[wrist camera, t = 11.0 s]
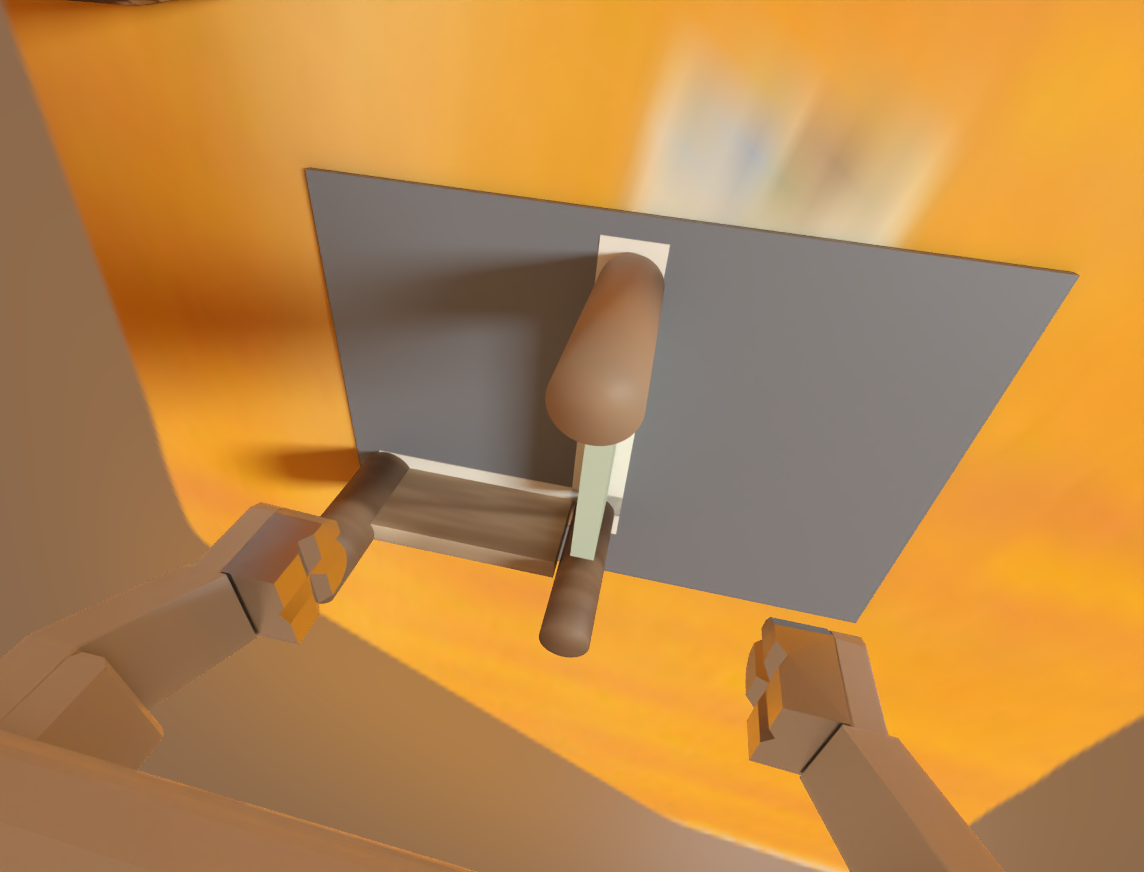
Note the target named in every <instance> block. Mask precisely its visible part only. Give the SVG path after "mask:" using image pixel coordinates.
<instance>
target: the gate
mask: <svg viewBox="0 0 1144 872" xmlns="http://www.w3.org/2000/svg"><path fill="white" fill-rule="evenodd" d="M664 290H665V283H664V278H663V275H662V273H661V271H660V269H659V268H658V266H657V265H656V264H655V263H654V262H653V261H651V260H650V259H649V258H647V257H645V256H642V255H639V254H632V253H631V254H622V255H619V256H617V257H615V258H613V259H611V260H610V261H609V262H608V263H606V265H605V266H604V267H603V268H602V270H601V272H600V274H599V276H598V278H597V280H596V283H595V285H594V287H593V289H592V291H591V293H590V295H589V298H588V300H587V302H586V304H585V306H584V308H583V310H582V313H581V315H580V317H579V319H578V321H577V323H576V326H575V328H574V330H573V332H572V334H571V336H570V338H569V341H568V343H567V345H566V347H565V349H564V351H563V354H562V356H561V358H560V360H559V362H558V364H557V366H556V369H555V371H554V373H553V375H552V377H551V379H550V382H549V384H548V386H547V389H546V395H545V402H546V408H547V411H548V414H549V416H550V418H551V420H552V421H553V423H554V424H555V426H556V427H557V428H558V429H559V430H560V431H561V432H562V433H564V434H565V435H566V436H568V437H569V438H571V439H573V440H575V441H577V442H580V443H583V444H585V449H584V456H583V464H582V471H581V479H580V486H579V493H578V501H577V508H576V516H575V523H574V531H573V538H572V546H571V553H570V556H574V557H579V558H584V559H588V560H593V561H594V556H595V551H596V547H597V542H598V537H599V533H600V528H601V523H602V519H603V514H604V509H605V505H606V500H607V495H608V490H609V484H610V478H611V473H612V467H613V462H614V456H615V450H616V445H617V443H620V442H622V441H624V440H626V439H628V438H629V437H630V436H632V435H633V434H634V433H635V432H636V431H637V430H638V428H639V427H640V425H641V423H642V421H643V419H644V415H645V410H646V404H647V398H648V391H649V385H650V379H651V372H652V366H653V360H654V354H655V347H656V341H657V335H658V328H659V322H660V316H661V310H662V303H663V297H664Z"/></svg>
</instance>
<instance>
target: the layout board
mask: <svg viewBox="0 0 1144 872" xmlns="http://www.w3.org/2000/svg"><path fill="white" fill-rule="evenodd" d="M305 173H306V178H307V184H308V189H309V194H310V200H311V205H312V210H313V216H314V221H315V226H316V232H317V237H318V242H319V248H320V253H321V258H322V264H323V269H324V274H325V280H326V285H327V290H328V296H329V301H330V306H331V312H332V317H333V322H334V328H335V333H336V338H337V344H338V349H339V354H340V360H341V365H342V370H343V376H344V381H345V386H346V392H347V397H348V402H349V408H350V413H351V418H352V424H353V429H354V434H355V440H356V445H357V450H358V456H359V461H360V466H362V465H363V464H364V463H365V462H366V460H367V459H368V458H369V457H370V456H371V455H372V454H373V453H375V452H387V453H391V454H394V455H396V456H398V457H399V458H401V459H402V460H403V461H404V462H405V463H406V464H407V465H408V466H409V468H412V469H417V470H422V471H427V472H433V473H438V474H443V475H448V476H453V477H458V478H463V479H468V480H473V481H478V482H483V483H488V484H494V485H499V486H504V487H509V488H514V489H519V490H524V491H529V492H534V493H539V494H544V495H549V496H555V497H560V498H565V499H570V500H572V508H571V515H570V519H569V522H568V526H567V529H566V533H565V536H564V540H563V544H562V547H561V551H560V554H559V558H558V561H560V559H561V555H562V551H563V548H564V544H565V541H566V537H567V534H568V530H569V527H570V523H571V519H572V516H573V512H574V509H575V505H576V503H577V501H578V493H579V486H580V479H581V471H582V464H583V456H584V449H585V444H583V443H580V442H577V441H575V440H573V439H571V438H569V437H568V436H566V435H565V434H564V433H562V432H561V431H560V430H559V429H558V428H557V427H556V426H555V424H554V423H553V421H552V420H551V418H550V416H549V414H548V411H547V408H546V402H545V395H546V389H547V386H548V384H549V382H550V379H551V377H552V375H553V373H554V371H555V369H556V366H557V364H558V362H559V360H560V358H561V356H562V354H563V351H564V349H565V347H566V345H567V343H568V341H569V338H570V336H571V334H572V332H573V330H574V328H575V326H576V323H577V321H578V319H579V317H580V315H581V313H582V310H583V308H584V306H585V304H586V302H587V300H588V298H589V295H590V293H591V291H592V289H593V287H594V285H595V283H596V280H597V278H598V276H599V274H600V272H601V270H602V268H603V267H604V266H605V265H606V263H608V262H609V261H610V260H611V259H613V258H615V257H617V256H619V255H622V254H631V253H632V254H639V255H642V256H645V257H647V258H649V259H650V260H651V261H653V262H654V263H655V264H656V265H657V266H658V268H659V269H660V271H661V273H662V275H663V278H664V283H665V290H664V297H663V303H662V310H661V316H660V322H659V328H658V335H657V341H656V347H655V354H654V360H653V366H652V372H651V379H650V385H649V391H648V398H647V404H646V410H645V415H644V419H643V421H642V423H641V425H640V427H639V428H638V430H637V431H636V432H635V433H634V434H633V435H632V436H630V437H629V438H628V439H626V440H624V441H622V442H620V443H617V445H616V450H615V456H614V462H613V467H612V473H611V478H610V484H609V490H608V495H607V500H606V501H607V502H608V503H609V504H610V505H611V506H612V507H613V509H614V520H613V525H612V530H611V536H610V541H609V546H608V551H607V557H606V562H605V567H604V570H605V571H609V572H614V573H619V574H624V575H628V576H633V577H638V578H643V579H648V580H652V581H657V582H662V583H667V584H671V585H676V586H681V587H686V588H690V589H695V590H700V591H705V592H710V593H714V594H719V595H724V596H729V597H733V598H738V599H743V600H748V601H752V602H757V603H762V604H767V605H772V606H776V607H781V608H786V609H791V610H795V611H800V612H805V613H810V614H815V615H819V616H824V617H829V618H834V619H838V620H843V621H848V622H853V623H856V622H857V620H858V619H859V617H860V616H861V614H862V612H863V611H864V609H865V608H866V606H867V605H868V603H869V602H870V600H871V598H872V597H873V595H874V594H875V592H876V591H877V589H878V588H879V586H880V585H881V583H882V581H883V580H884V578H885V577H886V575H887V574H888V572H889V571H890V569H891V567H892V566H893V564H894V563H895V561H896V560H897V558H898V557H899V555H900V553H901V552H902V550H903V549H904V547H905V546H906V544H907V543H908V541H909V540H910V538H911V536H912V535H913V533H914V532H915V530H916V529H917V527H918V526H919V524H920V522H921V521H922V519H923V518H924V516H925V515H926V513H927V512H928V510H929V509H930V507H931V505H932V504H933V502H934V501H935V499H936V498H937V496H938V495H939V493H940V491H941V490H942V488H943V487H944V485H945V484H946V482H947V481H948V479H949V478H950V476H951V474H952V473H953V471H954V470H955V468H956V467H957V465H958V464H959V462H960V460H961V459H962V457H963V456H964V454H965V453H966V451H967V450H968V448H969V447H970V445H971V443H972V442H973V440H974V439H975V437H976V436H977V434H978V433H979V431H980V429H981V428H982V426H983V425H984V423H985V422H986V420H987V419H988V417H989V416H990V414H991V412H992V411H993V409H994V408H995V406H996V405H997V403H998V402H999V400H1000V398H1001V397H1002V395H1003V394H1004V392H1005V391H1006V389H1007V388H1008V386H1009V384H1010V383H1011V381H1012V380H1013V378H1014V377H1015V375H1016V374H1017V372H1018V371H1019V369H1020V367H1021V366H1022V364H1023V363H1024V361H1025V360H1026V358H1027V357H1028V355H1029V353H1030V352H1031V350H1032V349H1033V347H1034V346H1035V344H1036V343H1037V341H1038V340H1039V338H1040V336H1041V335H1042V333H1043V332H1044V330H1045V329H1046V327H1047V326H1048V324H1049V322H1050V321H1051V319H1052V318H1053V316H1054V315H1055V313H1056V312H1057V310H1058V309H1059V307H1060V305H1061V304H1062V302H1063V301H1064V299H1065V298H1066V296H1067V295H1068V293H1069V291H1070V290H1071V288H1072V287H1073V285H1074V284H1075V282H1076V281H1077V279H1078V278H1079V276H1080V275H1078V274H1076V273H1074V272H1069V271H1061V270H1054V269H1047V268H1039V267H1032V266H1025V265H1018V264H1010V263H1003V262H996V261H988V260H981V259H974V258H966V257H959V256H952V255H944V254H937V253H930V252H923V251H915V250H908V249H901V248H893V247H886V246H879V245H871V244H864V243H857V242H849V241H842V240H835V239H828V238H820V237H813V236H806V235H798V234H791V233H784V232H776V231H769V230H762V229H754V228H747V227H740V226H733V225H725V224H718V223H711V222H703V221H696V220H689V219H681V218H674V217H667V216H659V215H652V214H645V213H637V212H630V211H623V210H616V209H608V208H601V207H594V206H586V205H579V204H572V203H564V202H557V201H550V200H542V199H535V198H528V197H521V196H513V195H506V194H499V193H491V192H484V191H477V190H469V189H462V188H455V187H447V186H440V185H433V184H426V183H418V182H411V181H404V180H396V179H389V178H382V177H374V176H367V175H360V174H352V173H345V172H338V171H331V170H323V169H316V168H307V169H305Z"/></svg>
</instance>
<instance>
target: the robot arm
mask: <svg viewBox="0 0 1144 872" xmlns="http://www.w3.org/2000/svg"><path fill="white" fill-rule="evenodd" d="M340 533H341V532H340V529H339V526H338V523H337V521H335V520H331V519H327V518H323V517H319V516H315V515H311V514H307V513H303V512H299V511H295V510H291V509H287V508H283V507H279V506H275V505H270V504H266V503H262V502H261V503H258V504H256V505H254V506H252V507H250V508H249V509H248V510H247V511H246V512H245V513H244V514H243V515H242V516H241V517H240V518H239V520H238V521H237V522H236V523H235V524H234V525H233V526H232V527H231V528H230V529H229V530H228V531H227V532H226V533H225V534H224V535H223V536H222V537H221V538H220V539H219V540H218V541H217V542H216V543H215V544H214V545H213V546H212V547H211V548H210V549H209V550H208V551H207V552H206V553H205V554H204V555H203V556H202V557H201V558H200V559H199V560H198V561H197V562H196V563H195V564H194V565H193V566H192V565H186V564H185V565H183V566H181V567H178V568H176V569H174V570H172V571H170V572H167V573H165V574H163V575H160V576H158V577H156V578H154V579H151V580H149V581H147V582H145V583H142V584H140V585H138V586H136V587H134V588H131V589H129V590H127V591H124V592H122V593H120V594H118V595H116V596H113V597H111V598H109V599H107V600H104V601H102V602H100V603H98V604H95V605H93V606H91V607H89V608H86V609H84V610H82V611H80V612H77V613H75V614H73V615H71V616H69V617H66V618H64V619H62V620H59V621H58V622H55V623H53V624H51V625H48V626H46V627H44V628H42V629H39V630H37V631H35V632H33V633H30V634H28V635H27V636H26V637H25V638H24V639H23V640H22V641H21V642H19V643H18V644H17V645H16V646H15V647H14V648H12V649H11V650H10V651H9V652H8V653H7V654H6V655H5V656H3V657H2V658H1V659H0V872H476V871H473V870H470V869H466V868H463V867H460V866H456V865H453V864H450V863H447V862H443V861H440V860H436V859H433V858H430V857H426V856H423V855H419V854H416V853H413V852H409V851H406V850H403V849H400V848H396V847H393V846H390V845H386V844H383V843H379V842H376V841H373V840H369V839H366V838H363V837H359V836H356V835H353V834H349V833H346V832H343V831H339V830H336V829H332V828H329V827H325V826H322V825H319V824H316V823H312V822H309V821H305V820H302V819H299V818H296V817H292V816H289V815H286V814H282V813H279V812H276V811H272V810H269V809H265V808H262V807H259V806H255V805H252V804H249V803H245V802H242V801H238V800H235V799H232V798H229V797H225V796H222V795H219V794H215V793H212V792H208V791H205V790H202V789H198V788H195V787H192V786H188V785H185V784H181V783H178V782H175V781H172V780H168V779H165V778H162V777H158V776H155V775H151V774H148V773H145V772H141V771H138V769H139V768H140V766H141V765H142V764H143V763H144V761H145V760H146V759H147V757H148V756H149V755H150V753H151V752H152V751H153V749H154V748H155V747H156V746H157V744H158V743H159V742H160V740H161V739H162V738H163V728H162V727H161V726H160V724H159V723H158V722H157V721H156V720H155V718H154V717H153V716H152V715H151V714H150V712H149V710H150V709H152V708H153V707H155V706H156V705H158V704H159V703H161V702H162V701H164V700H165V699H167V698H168V697H170V696H171V695H173V694H174V693H176V692H177V691H179V690H180V689H182V688H183V687H185V686H186V685H188V684H189V683H191V682H192V681H193V680H195V679H197V678H198V677H199V676H201V675H202V674H204V673H205V672H207V671H208V670H210V669H211V668H213V667H214V666H216V665H217V664H219V663H220V662H222V661H223V660H225V659H226V658H228V657H229V656H231V655H232V654H234V653H235V652H237V651H238V650H240V649H241V648H243V647H244V646H245V645H247V644H248V643H250V642H251V641H253V640H254V639H256V638H257V636H256V635H258V636H263V637H267V638H272V639H276V640H281V641H285V642H289V643H294V644H299V643H300V642H301V641H302V639H303V638H304V636H305V635H306V633H307V632H308V631H309V629H310V628H311V626H312V625H313V623H314V622H315V620H316V619H317V617H318V616H319V615H320V614H319V602H321V601H323V600H325V599H327V598H328V597H330V596H332V595H333V594H334V592H335V591H336V589H337V588H338V586H339V585H340V583H341V581H342V578H343V576H344V573H345V570H346V564H347V555H346V551H345V548H344V547H343V546H342V545H341V544H340V543H339V542H338V541H337V540H336V538H337V537H338V536H339V534H340ZM746 696H747V698H748V699H749V701H750V702H751V704H752V705H753V707H754V709H753V711H752V713H751V714H750V716H749V718H748V720H747V729H748V748H749V760H750V761H754V762H757V763H761V764H764V765H768V766H771V767H775V768H778V769H782V770H785V771H789V772H792V773H796V774H799V775H801V776H800V779H801V781H802V783H803V785H804V787H805V788H806V790H807V792H808V794H809V796H810V798H811V800H812V801H813V803H814V805H815V807H816V809H817V811H818V813H819V814H820V816H821V818H822V820H823V822H824V824H825V826H826V827H827V829H828V831H829V833H830V835H831V837H832V839H833V840H834V842H835V844H836V846H837V848H838V850H839V852H840V853H841V855H842V857H843V859H844V861H845V863H846V865H847V866H848V868H849V870H850V872H1005V871H1004V870H1003V869H1002V867H1001V866H1000V865H999V864H998V862H997V861H996V860H995V859H994V857H993V856H992V855H991V854H990V853H989V851H988V850H987V849H986V847H985V846H984V845H983V844H982V842H981V841H980V840H979V839H978V838H977V836H976V835H975V834H974V832H973V831H972V830H971V829H970V827H969V826H968V825H967V824H966V822H965V821H964V820H963V819H962V817H961V816H960V815H959V814H958V812H957V811H956V810H955V809H954V807H953V806H952V805H951V804H950V802H949V801H948V800H947V799H946V797H945V796H944V795H943V794H942V792H941V791H940V790H939V789H938V787H937V786H936V785H935V784H934V782H933V781H932V780H931V779H930V777H929V776H928V775H927V774H926V772H925V771H924V770H923V769H922V767H921V766H920V765H919V764H918V762H917V761H916V760H915V759H914V757H913V756H912V755H911V754H910V752H909V751H908V750H907V749H906V747H905V746H904V745H903V744H902V742H901V741H900V740H899V739H898V738H896V737H892V736H889V735H888V732H887V728H886V724H885V720H884V716H883V712H882V708H881V704H880V700H879V696H878V692H877V688H876V684H875V680H874V676H873V672H872V668H871V664H870V660H869V656H868V652H867V648H866V644H865V643H864V641H863V640H862V638H860V637H857V636H853V635H848V634H844V633H839V632H834V631H828V630H827V629H824V628H820V627H815V626H810V625H805V624H801V623H796V622H791V621H786V620H781V619H777V618H772V617H770V618H768V619H767V620H766V621H765V623H764V625H763V627H762V640H760V641H758V642H755V643H754V645H753V647H752V649H751V651H750V654H749V658H748V663H747V668H746Z"/></svg>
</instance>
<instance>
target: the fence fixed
mask: <svg viewBox="0 0 1144 872" xmlns="http://www.w3.org/2000/svg"><path fill="white" fill-rule="evenodd" d="M571 508H572V500H570V499H565V498H560V497H555V496H549V495H544V494H539V493H534V492H529V491H524V490H519V489H514V488H509V487H504V486H499V485H494V484H488V483H483V482H478V481H473V480H468V479H463V478H458V477H453V476H448V475H443V474H438V473H433V472H427V471H422V470H417V469H412V468H409V466H408V465H407V464H406V463H405V462H404V461H403V460H402V459H401V458H399V457H398V456H396V455H394V454H391V453H387V452H375V453H373V454H372V455H371V456H370V457H369V458H368V459H367V460H366V462H365V463H364V464H363V465H362V466H361V468H360V469H359V470H358V471H357V473H356V474H355V475H354V476H353V477H352V479H351V480H350V481H349V482H348V483H347V485H346V486H345V487H344V488H343V490H342V491H341V492H340V493H339V494H338V496H337V497H336V498H335V499H334V501H333V502H332V503H331V504H330V505H329V507H328V508H327V509H326V510H325V511H324V513H323V514H322V515H321V516H320V517H323V518H327V519H331V520H335V521H337V523H338V526H339V529H340V532H341V533H340V534H339V536H338V537H337V538H336V540H337V541H338V542H339V543H340V544H341V545H342V546H343V547H344V548H345V551H346V555H347V564H346V570H345V573H344V576H343V578H342V581H341V583H340V585H339V586H338V588H337V589H336V591H335V592H334V594H333V595H332V596H330V597H328V598H327V599H325V600H323V601H321V602H319V604H323V603H328V602H330V601H331V600H332V599H333V598H334V597H335V595H336V594H337V592H338V591H339V589H340V588H341V586H342V585H343V583H344V582H345V581H346V579H347V578H348V576H349V575H350V573H351V572H352V570H353V569H354V567H355V566H356V564H357V563H358V561H359V560H360V558H361V557H362V555H363V554H364V552H365V551H366V549H367V548H368V546H369V545H370V544H371V542H372V541H373V539H375V540H379V541H384V542H389V543H393V544H398V545H403V546H407V547H412V548H417V549H421V550H426V551H431V552H436V553H440V554H445V555H450V556H454V557H459V558H464V559H468V560H473V561H478V562H482V563H487V564H492V565H497V566H501V567H506V568H511V569H515V570H520V571H525V572H529V573H534V574H539V575H543V576H548V577H553V575H554V572H555V568H556V565H557V561H558V558H559V554H560V551H561V547H562V544H563V540H564V536H565V533H566V529H567V526H568V522H569V519H570V515H571ZM576 508H577V503H576V505H575V509H574V512H573V516H572V519H571V523H570V527H569V530H568V534H567V537H566V541H565V544H564V548H563V551H562V555H561V559H560V562H559V566H558V569H557V573H556V576H555V580H554V584H553V587H552V591H551V594H550V598H549V601H548V605H547V609H546V612H545V616H544V619H543V623H542V626H541V630H540V634H539V640H540V642H541V644H542V645H543V646H544V647H545V648H546V649H547V650H548V651H550V652H552V653H554V654H556V655H559V656H563V657H579V656H582V655H584V654H585V653H586V652H587V651H588V650H589V646H590V641H591V635H592V630H593V625H594V620H595V614H596V609H597V604H598V599H599V593H600V588H601V583H602V578H603V572H604V567H605V562H606V557H607V551H608V546H609V541H610V536H611V530H612V525H613V520H614V509H613V507H612V506H611V505H610V504H609V503H608V502H607V501H606V505H605V509H604V514H603V519H602V523H601V528H600V533H599V537H598V542H597V547H596V551H595V556H594V561H593V560H588V559H584V558H579V557H574V556H570V553H571V546H572V538H573V531H574V523H575V516H576Z"/></svg>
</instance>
